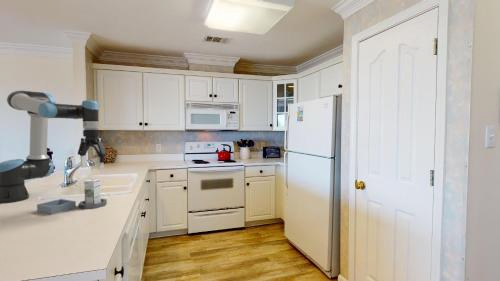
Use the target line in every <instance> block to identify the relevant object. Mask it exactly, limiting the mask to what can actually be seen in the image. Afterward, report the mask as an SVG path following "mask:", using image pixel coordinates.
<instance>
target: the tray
mask: <svg viewBox="0 0 500 281" xmlns="http://www.w3.org/2000/svg"><path fill="white" fill-rule="evenodd" d="M76 208H77V203H76V200H71V199H65V198H58V199H54V200H50V201H46V202H42V203H37V204H36V210H37V212H38V213H43V214H47V215H51V216H52V215H56V214H59V213H62V212H67V211H70V210H72V209H73V210H74V209H76Z"/></svg>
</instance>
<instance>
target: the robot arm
mask: <svg viewBox="0 0 500 281" xmlns="http://www.w3.org/2000/svg"><path fill="white" fill-rule="evenodd" d="M6 102H7V104H8V106H9V107H11V108H12V109H14V110H17V111H24V112H25V111H26V113H27V115H28V116H29V118H30V124H29V125H30V126H29V154H28V155H27V156H26V160H24V159H23V158H17V159H10V160H9V159H8V160H5V161H1V162H0V204H5V203H7V204H8V203H16V202H20V201H24V200H27V199H29V198H30V194H29V192H28V189H27V188H26V185H25V181H27V180H29V181H30V180H34V179H42V178H46V177H49V176H51V174H53V171H54V167H55V164H54V161H53V160H52V159H51V157H50V155H48V154H47V153H48V132H49V131H48V128H49V127H48V123H49V119H73V120H79V119H81V120H82V128H83V130H82V135H83V137H81V138H80V144H79V147H78V150H77V155H79V156H80V164H81V165H80V167H81V169H82V168H83V169H84V168H87V167H88V164H87V163H88V162H87V161H88V159H87V153H88V151H89V149H90V148H91V147H92V148H93V149H94V151H95V152H96V154H97V155H98V156H97V168H98V170H104V168H105V164H104V163H105V158H104V157H105V156H107V155H108V154H107V150H106V149H105V145H104V143H103V138H102V137H100V123H99V122H100V121H99V117H100V116H99V103H98V101H96V100H82V102H81V104H65V103H64V104H63V103H56V100H55V97H54V96H53V95H52V94H50V93H48V92H43V91H42V92H40V91H39V92H38V91H27V90H15V91H12V92H10V93H9V94H8V95H7V97H6ZM99 137H100V138H99Z"/></svg>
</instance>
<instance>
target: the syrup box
mask: <svg viewBox="0 0 500 281" xmlns="http://www.w3.org/2000/svg"><path fill="white" fill-rule="evenodd" d="M83 187H84V201H85V204H86V205H88V204H97V203H100V202H101V199H102V194H101V178H88V179H86V180H84V185H83Z"/></svg>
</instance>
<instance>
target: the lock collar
mask: <svg viewBox="0 0 500 281" xmlns="http://www.w3.org/2000/svg"><path fill="white" fill-rule="evenodd" d="M107 202H108V199H107V198H101V202H100V203H97V204H88V205H86V204H85V200H82V201H80V202H79V203H78V209H83V210H91V209H98V208H101V207H105V206H106V205H107Z"/></svg>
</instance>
